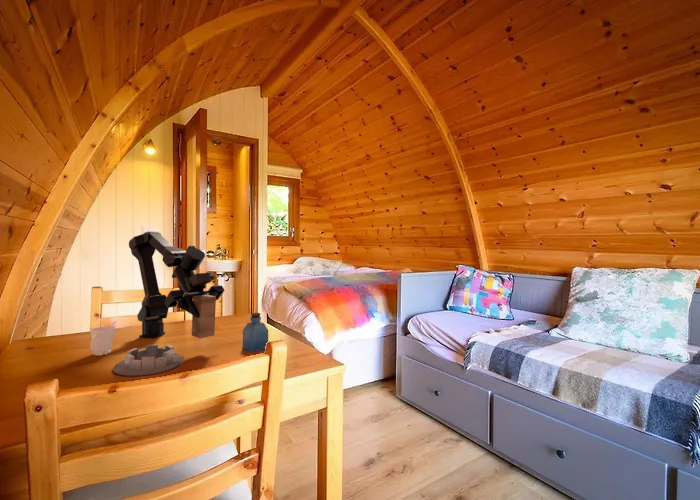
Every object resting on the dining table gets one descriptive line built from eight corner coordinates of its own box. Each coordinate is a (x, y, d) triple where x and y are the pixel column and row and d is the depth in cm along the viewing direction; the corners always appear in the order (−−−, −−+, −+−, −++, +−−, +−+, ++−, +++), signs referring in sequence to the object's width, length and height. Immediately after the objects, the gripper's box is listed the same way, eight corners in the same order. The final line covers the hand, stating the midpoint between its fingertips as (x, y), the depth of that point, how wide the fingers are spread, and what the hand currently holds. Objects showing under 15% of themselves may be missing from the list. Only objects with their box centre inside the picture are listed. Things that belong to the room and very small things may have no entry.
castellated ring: (96, 374, 91) (96, 359, 91) (142, 352, 109) (142, 340, 109) (159, 378, 90) (159, 363, 90) (195, 355, 108) (195, 342, 107)
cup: (120, 349, 112) (120, 325, 112) (104, 359, 103) (104, 333, 102) (97, 349, 111) (97, 325, 111) (78, 360, 101) (78, 334, 101)
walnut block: (191, 335, 110) (193, 296, 109) (205, 332, 114) (207, 294, 114) (200, 338, 107) (201, 297, 107) (214, 335, 111) (216, 296, 111)
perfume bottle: (268, 348, 116) (268, 313, 116) (252, 352, 112) (252, 316, 112) (258, 344, 121) (258, 311, 120) (242, 347, 116) (243, 313, 116)
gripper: (169, 265, 104) (189, 304, 98) (221, 262, 120) (241, 296, 114) (156, 288, 109) (174, 327, 103) (208, 282, 124) (226, 316, 118)
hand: (206, 315), depth 109 cm, fingers closed on walnut block, 5 cm apart
